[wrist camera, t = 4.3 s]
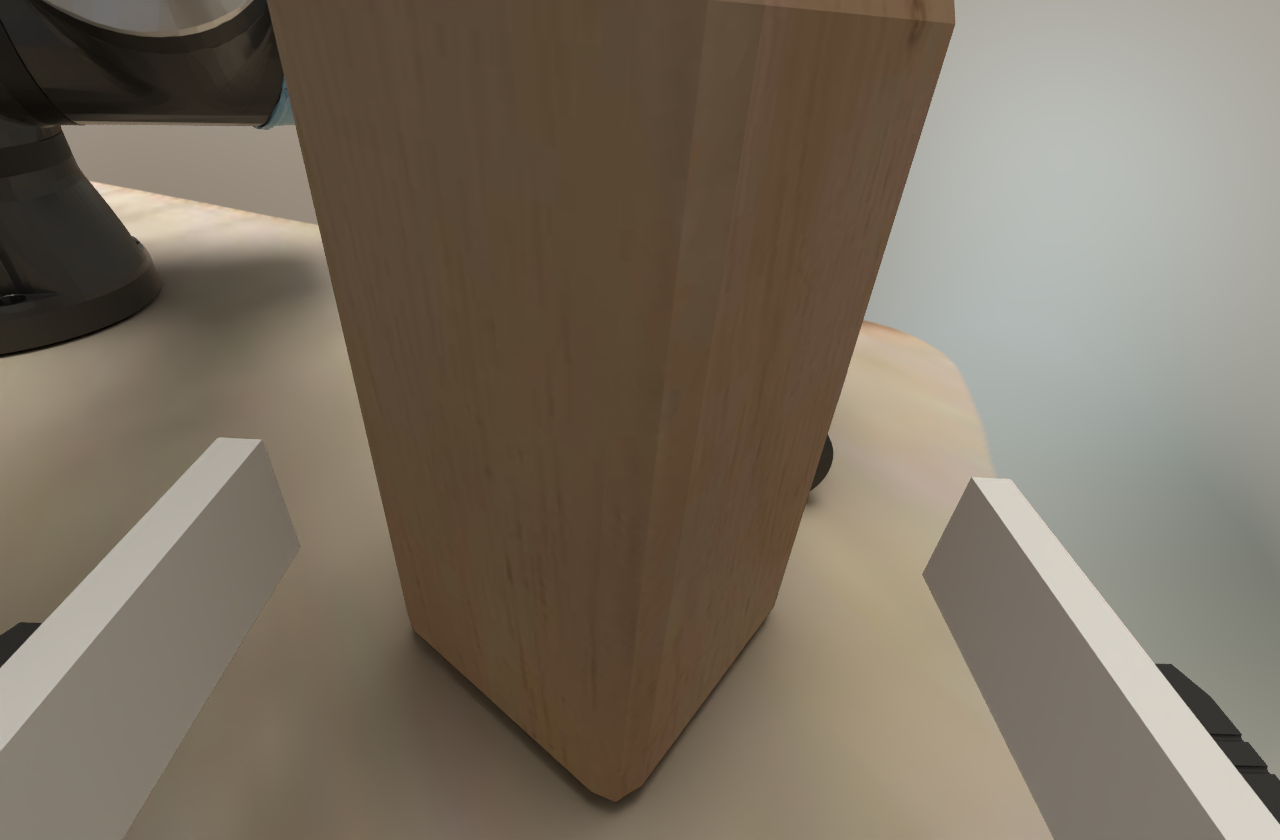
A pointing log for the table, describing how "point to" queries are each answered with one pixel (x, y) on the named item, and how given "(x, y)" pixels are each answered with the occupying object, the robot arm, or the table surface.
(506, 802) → the table surface
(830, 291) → the wooden block
